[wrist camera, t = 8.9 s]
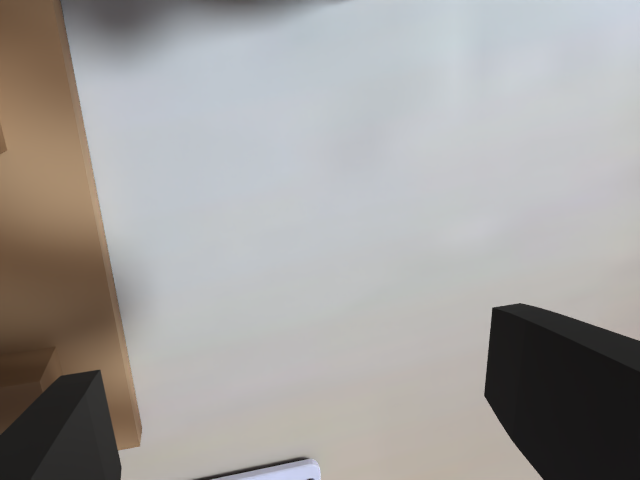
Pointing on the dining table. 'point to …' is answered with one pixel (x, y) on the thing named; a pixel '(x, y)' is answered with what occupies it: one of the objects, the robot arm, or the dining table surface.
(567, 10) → the dining table surface
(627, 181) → the dining table surface
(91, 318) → the stand
